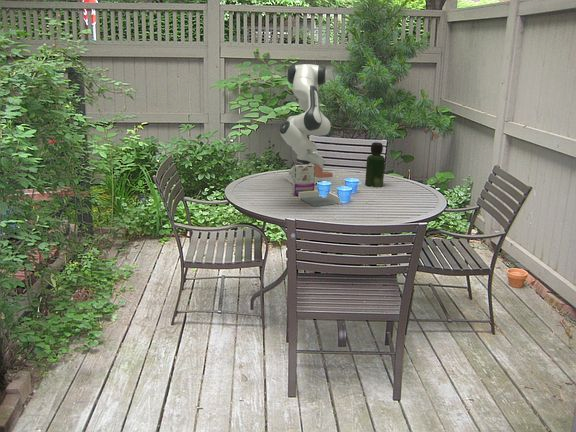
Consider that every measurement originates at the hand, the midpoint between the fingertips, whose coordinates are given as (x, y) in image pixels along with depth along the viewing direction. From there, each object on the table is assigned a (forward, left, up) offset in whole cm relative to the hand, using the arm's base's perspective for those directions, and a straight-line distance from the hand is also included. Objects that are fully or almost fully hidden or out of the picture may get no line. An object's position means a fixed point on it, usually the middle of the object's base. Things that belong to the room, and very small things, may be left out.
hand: (319, 166), depth 324 cm
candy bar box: (-18, 0, -19) cm, 26 cm away
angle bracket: (0, +2, -5) cm, 6 cm away
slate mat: (-2, +2, -19) cm, 19 cm away
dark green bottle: (-26, +51, -19) cm, 61 cm away
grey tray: (-3, +2, -19) cm, 19 cm away
